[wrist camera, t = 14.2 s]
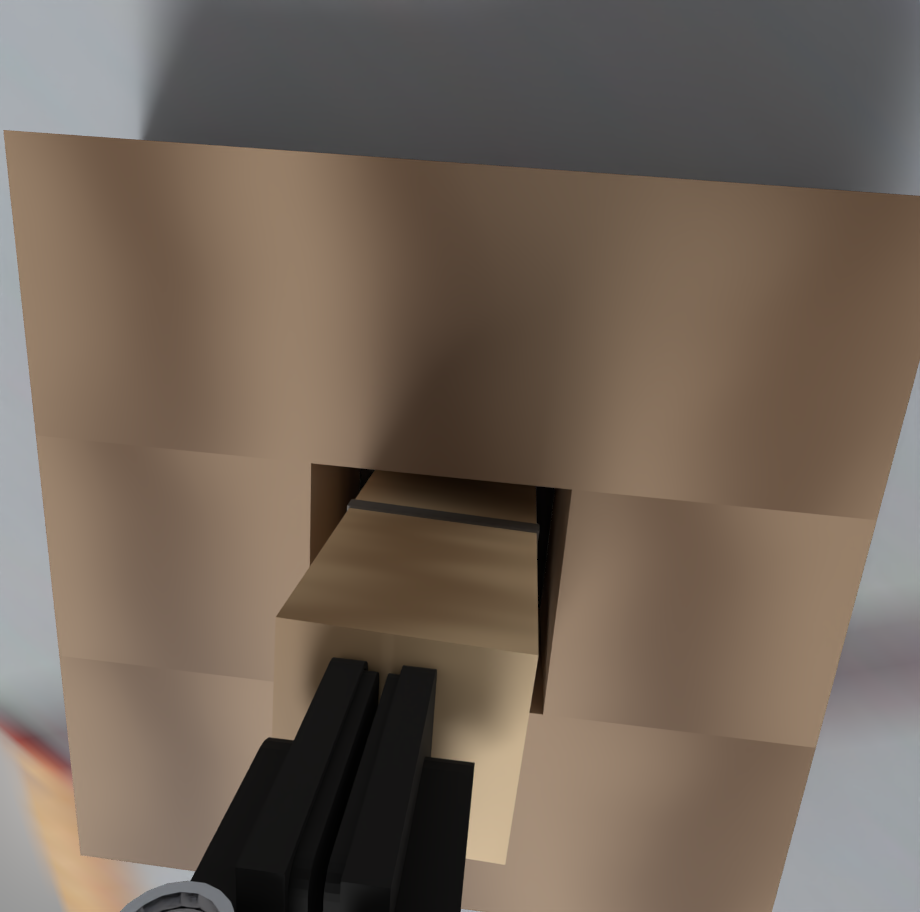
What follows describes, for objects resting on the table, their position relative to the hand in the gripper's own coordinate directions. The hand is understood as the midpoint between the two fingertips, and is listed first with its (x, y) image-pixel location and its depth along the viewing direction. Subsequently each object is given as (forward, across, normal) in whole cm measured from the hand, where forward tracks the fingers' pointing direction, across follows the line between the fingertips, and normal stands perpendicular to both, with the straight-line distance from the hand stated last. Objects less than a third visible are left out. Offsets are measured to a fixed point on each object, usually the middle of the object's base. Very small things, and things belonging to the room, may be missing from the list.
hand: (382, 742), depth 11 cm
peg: (+10, 0, 0) cm, 10 cm away
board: (+10, 0, 0) cm, 10 cm away
